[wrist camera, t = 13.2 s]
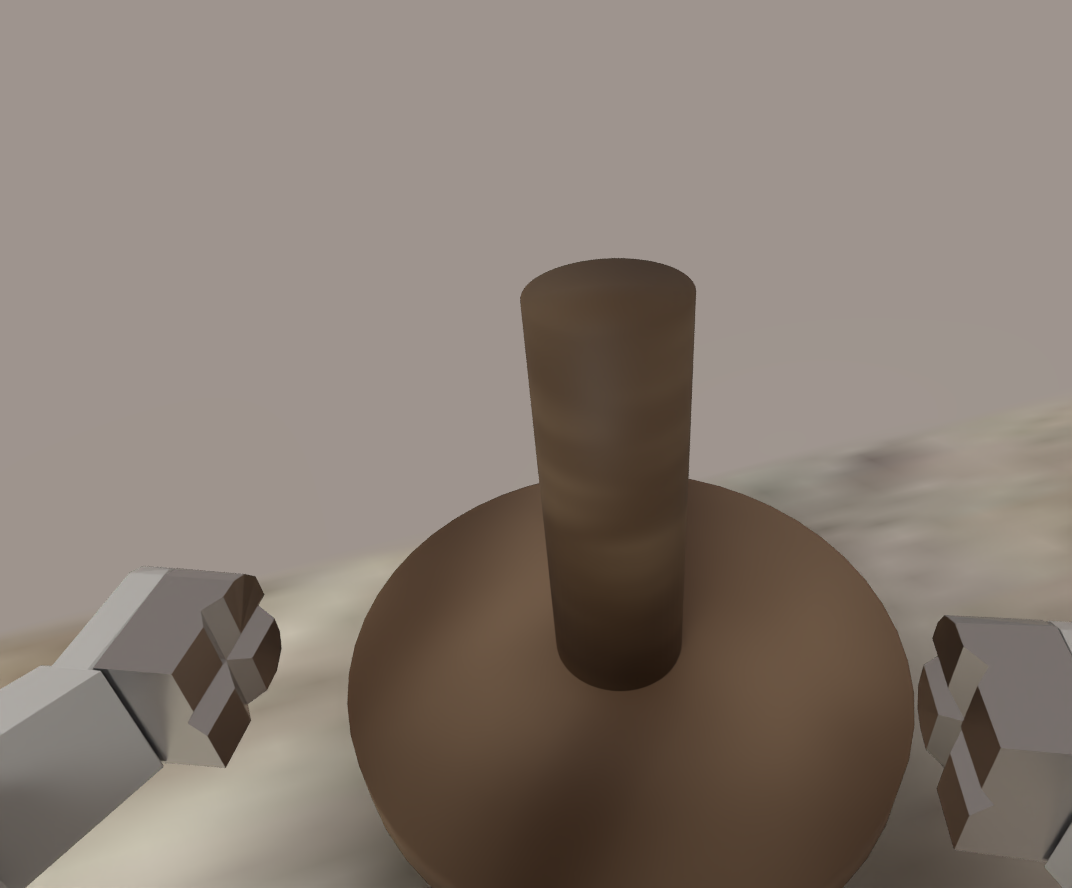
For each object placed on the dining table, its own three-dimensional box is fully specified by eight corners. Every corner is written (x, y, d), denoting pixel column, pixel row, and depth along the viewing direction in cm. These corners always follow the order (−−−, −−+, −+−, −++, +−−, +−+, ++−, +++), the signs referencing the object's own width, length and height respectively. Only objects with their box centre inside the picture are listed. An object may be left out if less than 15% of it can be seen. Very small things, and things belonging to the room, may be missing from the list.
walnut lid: (264, 912, 15) (13, 526, 9) (440, 493, 25) (377, 186, 19) (981, 1025, 13) (1278, 601, 7) (851, 512, 23) (922, 167, 17)
